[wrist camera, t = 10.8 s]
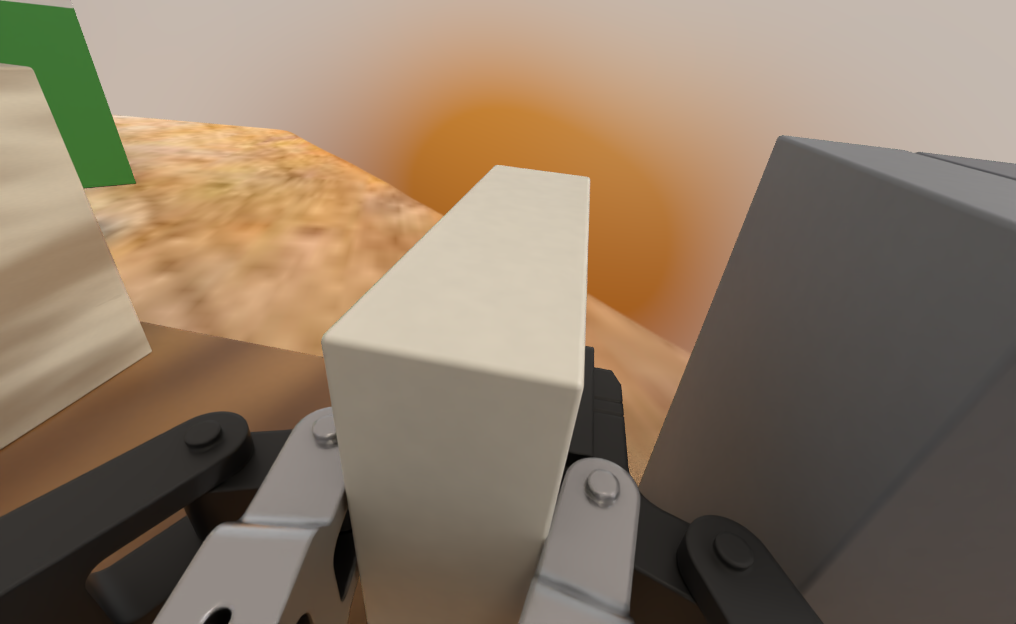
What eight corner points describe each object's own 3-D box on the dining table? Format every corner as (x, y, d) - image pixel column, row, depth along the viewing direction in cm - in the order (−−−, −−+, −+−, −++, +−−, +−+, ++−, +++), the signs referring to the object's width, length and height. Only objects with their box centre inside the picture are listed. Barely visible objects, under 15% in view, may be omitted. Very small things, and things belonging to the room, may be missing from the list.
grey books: (790, 519, 17) (1049, 167, 10) (918, 815, 10) (2014, 381, 3) (637, 487, 18) (777, 134, 11) (664, 746, 11) (1103, 254, 4)
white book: (539, 447, 19) (590, 176, 13) (495, 753, 11) (584, 385, 4) (475, 434, 19) (494, 164, 13) (382, 721, 11) (317, 336, 5)
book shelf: (378, 384, 22) (355, 100, 15) (117, 772, 10) (-592, 234, 3) (88, 327, 23) (-52, 48, 17) (-436, 597, 12) (-1686, 2, 5)
